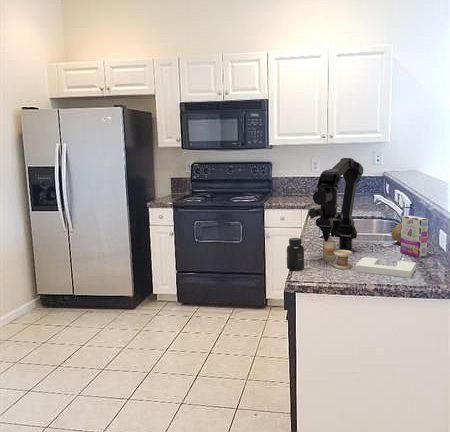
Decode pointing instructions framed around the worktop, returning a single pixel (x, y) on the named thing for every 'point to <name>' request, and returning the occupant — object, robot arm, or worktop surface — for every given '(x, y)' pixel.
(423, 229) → the candy bar box
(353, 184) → the robot arm
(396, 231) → the natural sponge
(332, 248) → the copper spool
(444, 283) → the worktop surface
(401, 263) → the notched board
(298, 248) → the supplement bottle
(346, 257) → the bobbin
